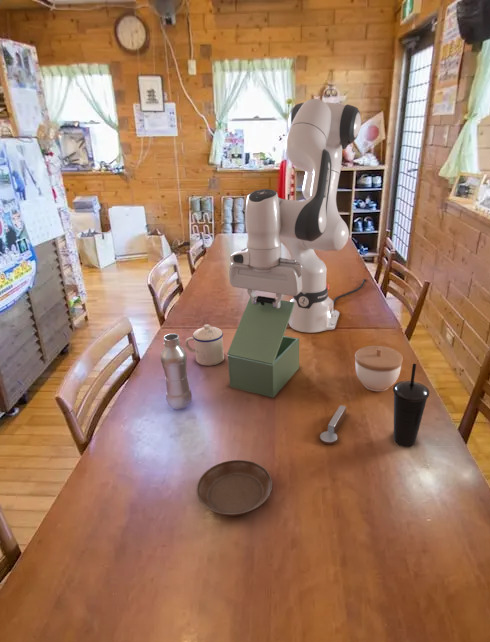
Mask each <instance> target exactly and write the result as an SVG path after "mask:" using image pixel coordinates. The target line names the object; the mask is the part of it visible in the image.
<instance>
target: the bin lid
mask: <svg viewBox="0 0 490 642" xmlns="http://www.w3.org/2000/svg"><path fill="white" fill-rule="evenodd" d="M256 296H257V301H258V302H259V304H258V305H254V304H252V299H251V297H250V296H249V298H248V301H247V304H246V306H245V309H244V311H243V314H242V316H241V319H240V321H239V324H238V326H237V328H236V331H235V334H234V335H233V338H232V340H231V343H230V346H229V348H228V351H227V353H226V354H227V356H228V355H231V356H235V357H240V358H244V359H248V360H253V361H257V362H262V363H266V364H271V365H273V364H274V361H275V358H276V356H277V353H278V350H279V347H280V345H281V342H282V339H283V336H285V334H286V331H287V328H288V325H289V320H290V317H291V314H292V312H293V309H294V306H295V302H290V300H283V299H282V300H281V301H280V302H281V306H280V308H273V302H274V301H275V300H277V299H278V298H276V297H270V296H264V295H256Z"/></svg>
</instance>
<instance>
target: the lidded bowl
mask: <svg viewBox="0 0 490 642" xmlns="http://www.w3.org/2000/svg"><path fill="white" fill-rule="evenodd" d="M403 361H404V358H403V355H402V354H401V353H400V352H399V351H397V349H395V348H392V347H388V346H384V345H366V346H363V347H360V348H359V349H357V350H356V352H355V353H354V368H355V374H356V377H357V379H358V381H359V382H360V383H361V384H362V385H363V387H364V388H365V389H367V390H368V391H371V392H385V391H387V390H388V389H389V388H390V387H392V386H394V385H395V384H396V383H397V381H398V379H399V377H400V376H401V375H400V374H401V371H402V365H403Z"/></svg>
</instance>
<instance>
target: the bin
mask: <svg viewBox="0 0 490 642" xmlns="http://www.w3.org/2000/svg"><path fill="white" fill-rule="evenodd" d="M227 364H228V365H227V366H228V381H229V387H230V388H233V389H237V390H241V391H244V392H249V393H253V394H257V395H260V396H264V397H269V398H272V399H274V398H275V397H276V396H277V394H279V392H280V391H281V390H282V389H283V388H284V386H285V385H286V384H287V383H288V382H289V381H290V379H291V378H292V377H294V375H295V374H296V372H297V371H298V370H299V369H300V338H299V337H293V336H287V335H284V336H283V339H282V342H281V345H280V347H279V350H278V353H277V356H276V358H275V361H274V364H273V365H271V364H266V363H262V362H257V361H253V360H248V359H244V358H240V357H235V356H231V355H228V354H227Z"/></svg>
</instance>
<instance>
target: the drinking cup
mask: <svg viewBox="0 0 490 642" xmlns="http://www.w3.org/2000/svg"><path fill="white" fill-rule="evenodd" d="M411 368H412V369H411V375H410V380H402V381H401V380H400V381H398V382H395V383H394V384H393V385H392V386H393V387H392V392H393V441H394V442H395V444H397V446H398V445H399V446H401V447H405V448H408V447H412V446H414V445H415V444H416V441H417V437H418V433H419V429H420V425H421V423H422V419H423V414H424V411H425V407H426V404H427V400H428V398H429V397H430V389H429V388H428V387H427V386H425V384H423V383H420V382H417V381H415V376H416V369H417V364H416V363H412V367H411Z"/></svg>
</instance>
